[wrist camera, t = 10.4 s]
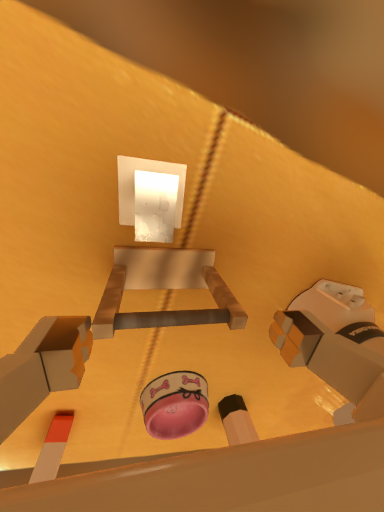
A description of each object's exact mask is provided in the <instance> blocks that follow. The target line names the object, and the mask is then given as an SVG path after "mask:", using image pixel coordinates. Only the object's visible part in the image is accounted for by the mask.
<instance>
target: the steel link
mask: <svg viewBox="0 0 384 512" xmlns="http://www.w3.org/2000/svg"><path fill="white" fill-rule="evenodd" d="M178 177H179V176H175V175H167V174H159V173H152V172H144V171H136V170H135V241H145V242H168V243H173V236H174V224H175V213H176V201H177V189H178Z"/></svg>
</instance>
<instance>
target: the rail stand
mask: <svg viewBox="0 0 384 512" xmlns="http://www.w3.org/2000/svg"><path fill="white" fill-rule="evenodd" d="M113 251H114V267H113V269H112V272H111V275H110V277H109V280H108V283H107V285H106V288H105V291H104V293H103V296H102V299H101V302H100V304H99V307H98V310H97V312H96V315H95V318H94V320H93V323H92V332H93V340H94V339H108V338H113V336H114V332H115V330H119V329H135V328H151V327H167V326H183V325H199V324H215V323H227V324H228V326H229V328H230V330H234V329H245V326H246V322H247V319H248V316H247V314H246V313H245V311H244V310H243V308H242V307H241V306H240V304H239V303H238V301H237V300H236V298H235V297H234V295H233V294H232V293H231V291H230V290H229V288H228V287H227V285H226V284H225V283H224V281H223V280H222V278H221V277H220V275H219V274H218V272H217V271H216V270H215V268H214V267H213V265H214V259H215V254H216V252H215V251H214V250H209V249H180V248H152V247H124V246H114V248H113ZM201 288H209V290H210V292H211V294H212V296H213V297H214V299H215V301H216V303H217V305H218V307H219V309H204V310H180V311H157V312H134V313H119V308H120V304H121V299H122V294H123V290H136V289H201Z"/></svg>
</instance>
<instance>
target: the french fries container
mask: <svg viewBox="0 0 384 512" xmlns="http://www.w3.org/2000/svg"><path fill="white" fill-rule="evenodd" d="M73 418H74V416H72V415H55V417H54V419H53V421H52V424H51V427H50V429H49V432H48V434H47V437H46V439H45V442H44V445H43V447H42V450H41V452H40V455H39V458H38V460H37V463H36V465H35V468H34V471H33V473H32V476H31V478H30V481H29V484H32V483H37V482H43V481H48V480H53V479H55V478H56V475H57V471H58V468H59V465H60V462H61V458H62V455H63V452H64V449H65V445H66V442H67V439H68V435H69V432H70V429H71V426H72V422H73Z"/></svg>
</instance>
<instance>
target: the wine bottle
mask: <svg viewBox="0 0 384 512" xmlns="http://www.w3.org/2000/svg"><path fill="white" fill-rule="evenodd" d="M218 407H219V412H220V416H221V419H222V422H223V426H224V429H225V432H226V436H227V439H228V442H229V446H233V445H238V444H244V443H249V442H254V441H260V439H259V437H258V435H257V432H256V430H255V427H254V425H253V423H252V420H251V418H250V415H249V413H248V411H247V408H246V406H245V403H244V401H243V399H242V396H239V395H235V394H234V395H231V396H227V397H225V398H224V399H223V400H222V401H221V402H219V403H218Z"/></svg>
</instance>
